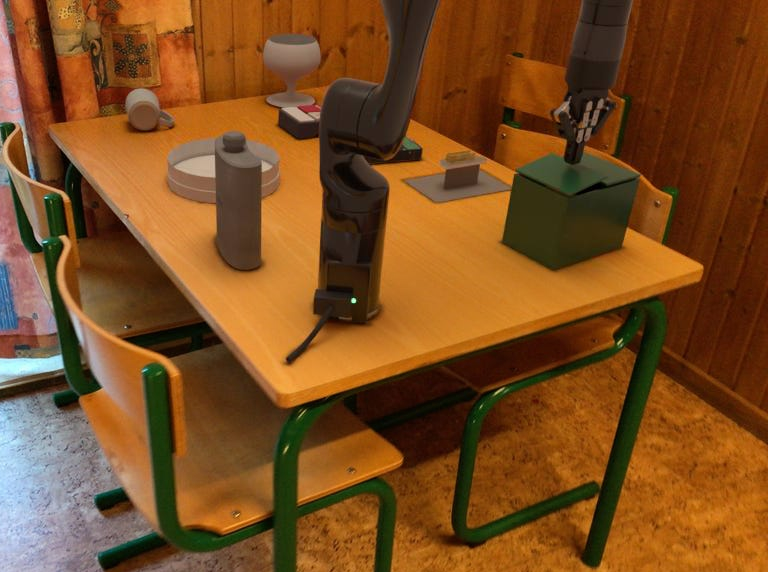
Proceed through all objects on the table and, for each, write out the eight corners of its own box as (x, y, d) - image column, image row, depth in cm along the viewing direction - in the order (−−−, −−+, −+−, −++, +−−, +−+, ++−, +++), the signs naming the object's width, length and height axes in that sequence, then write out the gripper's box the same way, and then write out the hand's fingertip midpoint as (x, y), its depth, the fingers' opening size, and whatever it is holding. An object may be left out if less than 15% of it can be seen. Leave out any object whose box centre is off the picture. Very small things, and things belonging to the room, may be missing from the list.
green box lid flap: (569, 196, 131) (570, 194, 131) (515, 171, 139) (515, 169, 139) (607, 178, 134) (607, 175, 134) (551, 154, 142) (551, 152, 142)
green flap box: (553, 270, 138) (570, 194, 131) (501, 242, 146) (514, 169, 139) (621, 247, 146) (641, 174, 138) (569, 222, 154) (585, 152, 147)
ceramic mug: (129, 133, 188) (126, 99, 184) (126, 121, 195) (124, 88, 190) (176, 131, 190) (175, 97, 186) (172, 120, 197) (171, 86, 193)
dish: (256, 211, 155) (256, 185, 152) (147, 193, 160) (145, 168, 158) (294, 169, 172) (295, 145, 170) (195, 154, 178) (194, 131, 175)
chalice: (329, 105, 209) (332, 42, 200) (281, 113, 202) (282, 49, 194) (299, 90, 218) (301, 30, 210) (252, 98, 212) (252, 36, 204)
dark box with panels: (358, 115, 191) (299, 119, 185) (356, 134, 193) (297, 139, 187) (336, 101, 199) (278, 105, 193) (334, 119, 201) (277, 124, 195)
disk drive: (356, 166, 175) (422, 160, 178) (357, 153, 173) (423, 147, 177) (340, 149, 183) (403, 143, 187) (340, 137, 182) (404, 131, 185)
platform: (403, 180, 169) (406, 148, 165) (477, 168, 175) (482, 137, 172) (436, 202, 160) (440, 169, 156) (513, 188, 167) (518, 156, 163)
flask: (210, 233, 147) (207, 119, 135) (243, 230, 148) (242, 117, 137) (228, 272, 135) (226, 151, 123) (264, 269, 136) (265, 149, 125)
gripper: (585, 63, 121) (560, 178, 131) (645, 53, 127) (617, 163, 137) (546, 51, 127) (525, 162, 136) (605, 42, 133) (581, 148, 142)
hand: (571, 162), depth 137 cm, fingers closed
